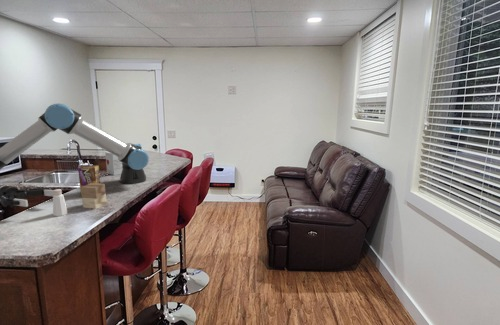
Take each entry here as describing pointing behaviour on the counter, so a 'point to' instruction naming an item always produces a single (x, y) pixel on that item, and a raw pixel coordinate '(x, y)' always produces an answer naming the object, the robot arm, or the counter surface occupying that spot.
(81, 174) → the candy box
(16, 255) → the counter surface
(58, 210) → the salt shaker
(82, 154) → the counter surface
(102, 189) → the tower top
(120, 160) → the robot arm
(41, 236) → the counter surface
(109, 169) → the supplement box
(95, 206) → the tower bottom
